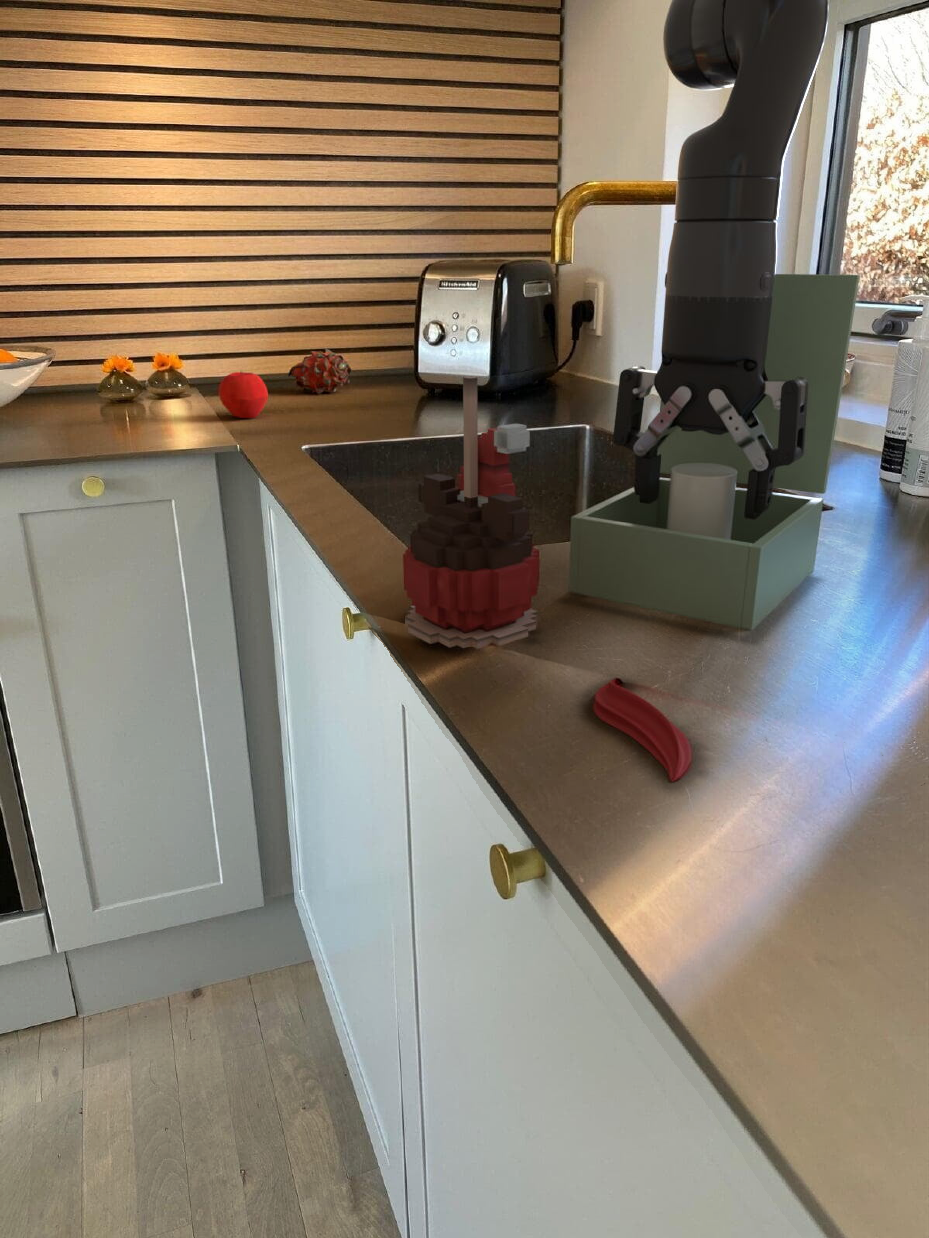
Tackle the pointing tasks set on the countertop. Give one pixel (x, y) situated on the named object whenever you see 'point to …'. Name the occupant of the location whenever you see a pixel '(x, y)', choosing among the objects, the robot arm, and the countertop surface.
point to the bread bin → (694, 557)
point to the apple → (243, 394)
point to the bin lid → (797, 347)
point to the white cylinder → (702, 499)
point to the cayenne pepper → (644, 726)
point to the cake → (473, 545)
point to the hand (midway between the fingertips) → (698, 509)
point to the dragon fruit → (321, 372)
